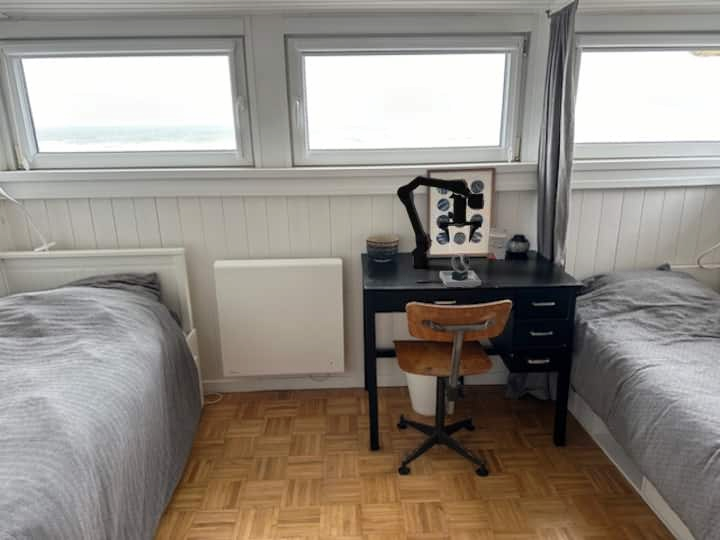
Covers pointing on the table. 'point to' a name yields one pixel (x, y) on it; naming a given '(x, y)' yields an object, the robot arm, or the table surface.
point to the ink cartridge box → (497, 243)
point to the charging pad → (448, 281)
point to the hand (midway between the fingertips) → (459, 242)
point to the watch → (460, 274)
